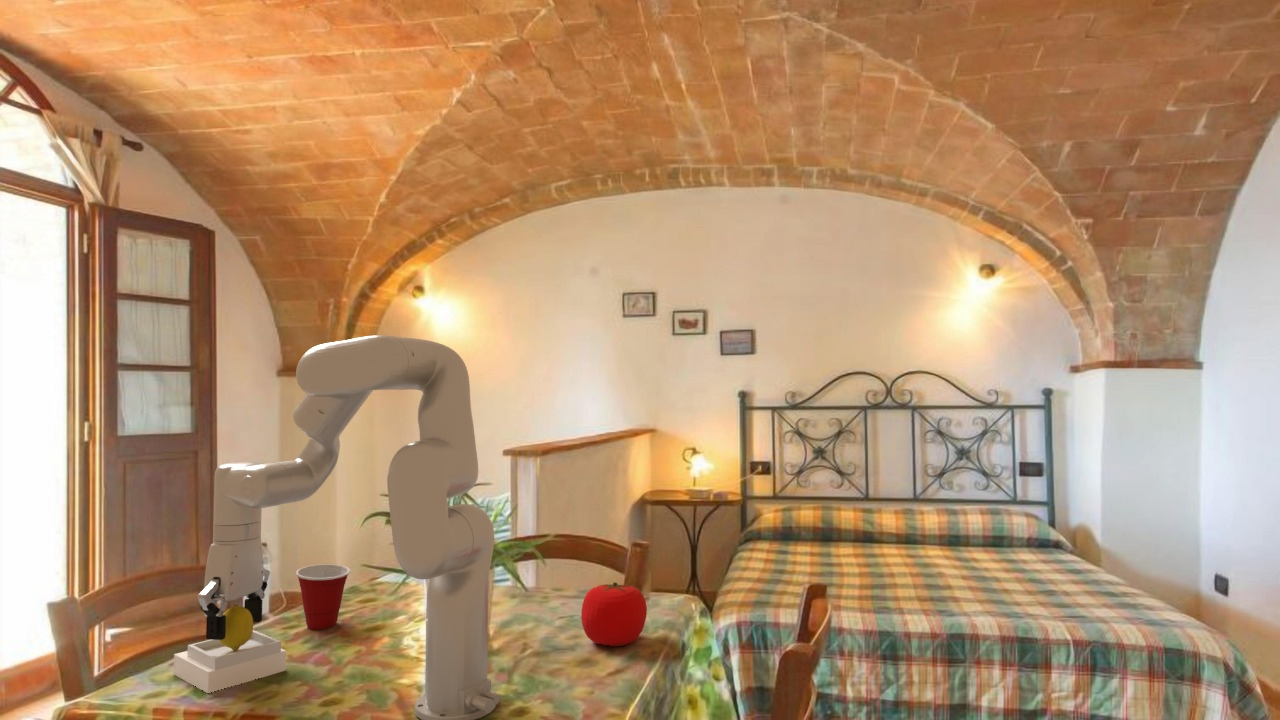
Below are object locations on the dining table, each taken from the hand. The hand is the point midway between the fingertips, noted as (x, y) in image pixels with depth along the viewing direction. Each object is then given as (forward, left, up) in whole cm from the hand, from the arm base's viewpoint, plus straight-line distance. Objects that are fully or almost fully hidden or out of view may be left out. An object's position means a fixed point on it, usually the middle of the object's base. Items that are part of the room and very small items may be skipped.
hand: (235, 630), depth 130 cm
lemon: (0, 0, -4) cm, 4 cm away
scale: (+2, 0, -8) cm, 8 cm away
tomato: (-43, -54, -8) cm, 69 cm away
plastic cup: (+14, -24, -8) cm, 29 cm away
